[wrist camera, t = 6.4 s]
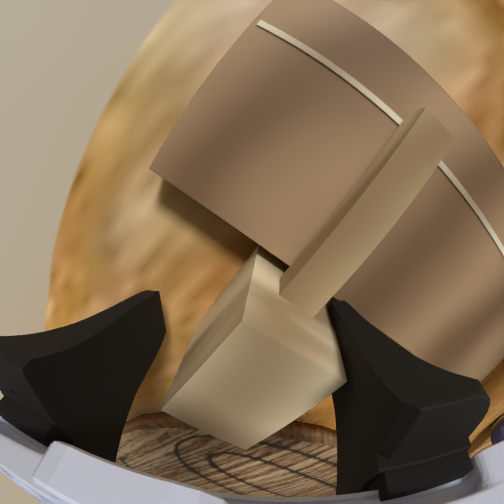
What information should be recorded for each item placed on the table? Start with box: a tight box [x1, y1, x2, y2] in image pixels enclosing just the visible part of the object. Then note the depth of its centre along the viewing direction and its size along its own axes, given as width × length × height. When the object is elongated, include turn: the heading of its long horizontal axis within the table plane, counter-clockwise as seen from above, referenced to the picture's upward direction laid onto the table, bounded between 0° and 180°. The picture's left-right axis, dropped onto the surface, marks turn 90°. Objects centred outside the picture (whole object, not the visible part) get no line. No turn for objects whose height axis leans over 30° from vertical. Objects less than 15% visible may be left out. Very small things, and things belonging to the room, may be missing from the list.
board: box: [149, 0, 504, 382], centre depth 10 cm, size 21×9×2 cm, turn 55°
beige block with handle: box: [161, 107, 455, 450], centre depth 9 cm, size 4×14×6 cm, turn 145°
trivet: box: [116, 412, 337, 497], centre depth 19 cm, size 25×25×2 cm
